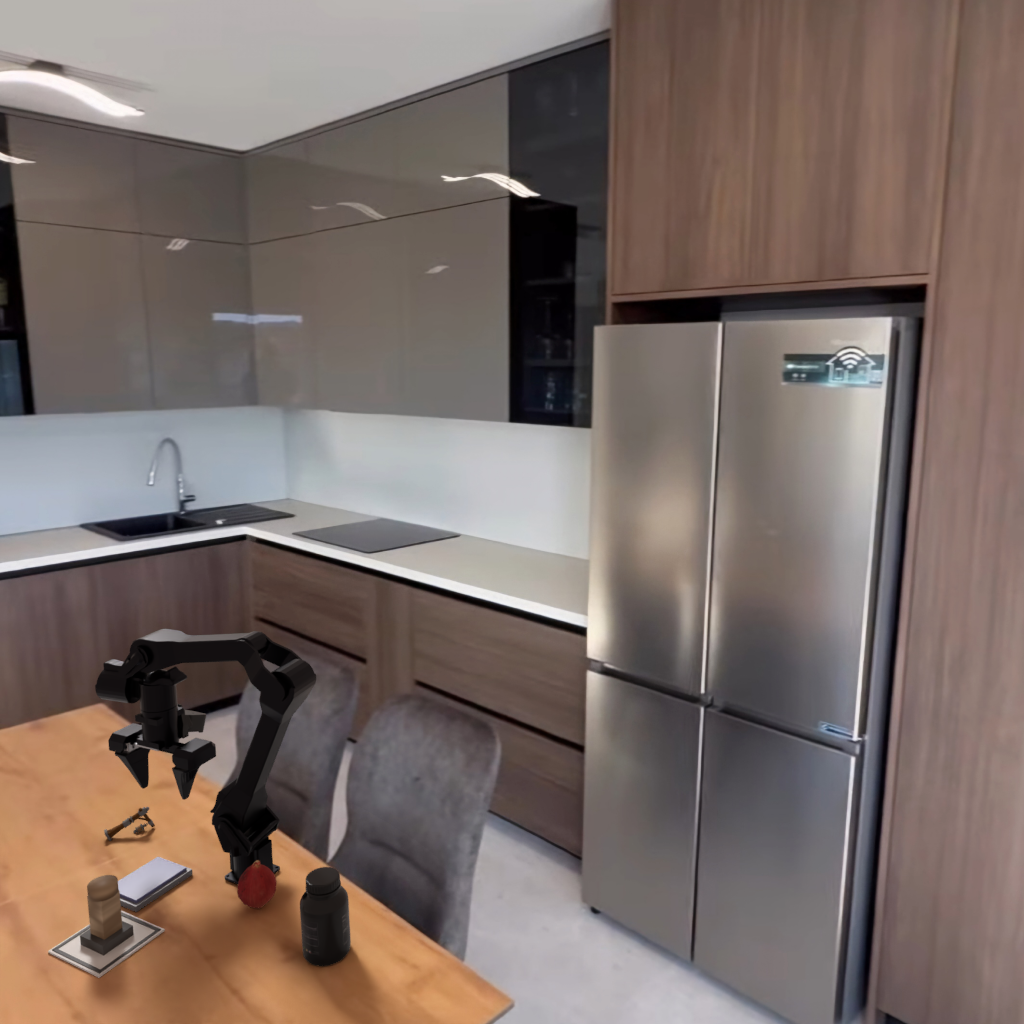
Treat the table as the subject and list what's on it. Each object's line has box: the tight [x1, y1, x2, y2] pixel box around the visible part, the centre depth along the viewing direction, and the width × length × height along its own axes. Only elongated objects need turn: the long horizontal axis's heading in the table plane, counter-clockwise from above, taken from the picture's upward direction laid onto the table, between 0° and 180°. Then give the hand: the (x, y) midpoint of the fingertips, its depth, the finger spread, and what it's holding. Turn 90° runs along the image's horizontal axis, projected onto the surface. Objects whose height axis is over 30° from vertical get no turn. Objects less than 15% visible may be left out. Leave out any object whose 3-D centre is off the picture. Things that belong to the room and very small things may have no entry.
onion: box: [236, 860, 277, 910], centre depth 129 cm, size 6×6×8 cm
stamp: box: [80, 874, 134, 956], centre depth 121 cm, size 5×5×9 cm
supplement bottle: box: [299, 866, 352, 967], centre depth 118 cm, size 7×7×12 cm
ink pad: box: [118, 856, 193, 913], centre depth 135 cm, size 8×11×2 cm
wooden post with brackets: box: [103, 806, 156, 842], centre depth 150 cm, size 2×8×4 cm, turn 119°
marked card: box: [47, 910, 166, 979], centre depth 121 cm, size 11×11×1 cm
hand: (165, 792), depth 140 cm, fingers open, 9 cm apart
